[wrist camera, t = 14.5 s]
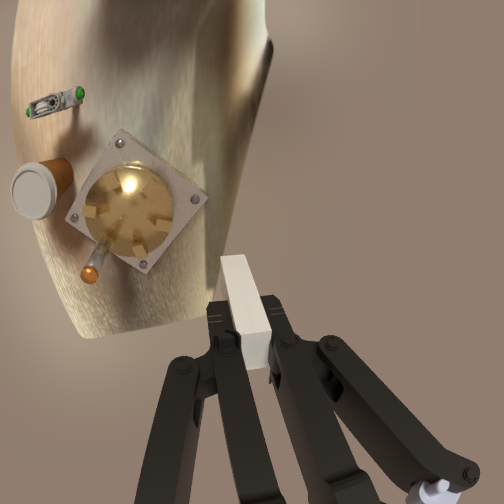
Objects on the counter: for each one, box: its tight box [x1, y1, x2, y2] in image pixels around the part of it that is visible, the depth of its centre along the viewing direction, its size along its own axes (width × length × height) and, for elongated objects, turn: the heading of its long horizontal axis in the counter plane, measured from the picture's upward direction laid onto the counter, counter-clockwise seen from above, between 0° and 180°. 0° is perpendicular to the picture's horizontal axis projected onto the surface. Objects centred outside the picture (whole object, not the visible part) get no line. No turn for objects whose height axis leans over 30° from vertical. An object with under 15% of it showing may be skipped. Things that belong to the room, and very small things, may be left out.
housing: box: [65, 129, 209, 274], centre depth 46 cm, size 20×20×3 cm
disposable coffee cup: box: [10, 158, 73, 220], centre depth 35 cm, size 10×10×12 cm
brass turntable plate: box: [81, 164, 174, 284], centre depth 39 cm, size 16×16×14 cm
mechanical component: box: [26, 86, 85, 120], centre depth 31 cm, size 3×10×10 cm, turn 92°
